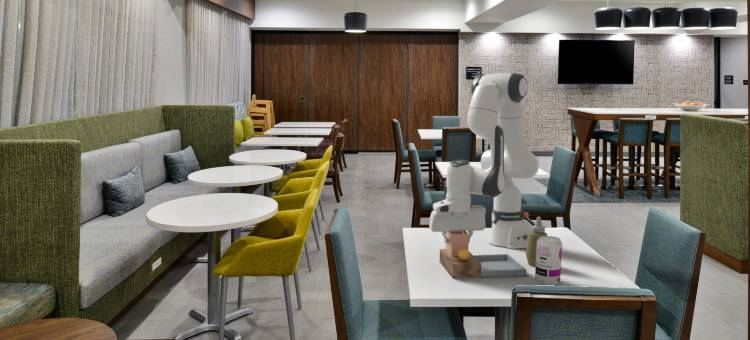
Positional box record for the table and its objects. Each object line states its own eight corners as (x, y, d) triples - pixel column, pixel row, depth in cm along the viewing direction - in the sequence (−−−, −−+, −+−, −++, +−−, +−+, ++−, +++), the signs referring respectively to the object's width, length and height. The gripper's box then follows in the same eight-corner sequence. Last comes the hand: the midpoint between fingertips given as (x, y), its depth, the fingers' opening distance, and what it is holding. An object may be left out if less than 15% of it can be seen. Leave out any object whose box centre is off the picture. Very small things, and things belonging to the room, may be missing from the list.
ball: (467, 258, 202) (468, 247, 201) (471, 261, 198) (471, 250, 198) (456, 258, 202) (457, 247, 201) (459, 262, 198) (460, 250, 197)
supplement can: (559, 279, 196) (562, 236, 194) (560, 287, 188) (562, 243, 186) (535, 276, 199) (537, 234, 196) (534, 284, 191) (536, 240, 188)
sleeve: (461, 249, 213) (462, 228, 212) (468, 255, 205) (468, 233, 204) (445, 249, 212) (446, 228, 211) (451, 256, 204) (451, 234, 203)
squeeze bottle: (545, 269, 206) (547, 220, 203) (522, 265, 210) (525, 217, 207) (550, 263, 213) (552, 216, 210) (528, 259, 217) (530, 213, 214)
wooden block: (465, 261, 215) (465, 248, 214) (480, 277, 197) (481, 263, 197) (439, 262, 214) (439, 249, 213) (452, 278, 196) (453, 264, 195)
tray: (507, 260, 216) (507, 253, 216) (526, 276, 199) (526, 269, 198) (466, 261, 214) (466, 255, 214) (481, 278, 196) (481, 271, 196)
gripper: (483, 202, 210) (481, 239, 213) (428, 204, 208) (427, 241, 210) (488, 206, 204) (487, 244, 206) (432, 207, 201) (431, 245, 204)
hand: (456, 242), depth 208 cm, fingers closed on sleeve, 6 cm apart
